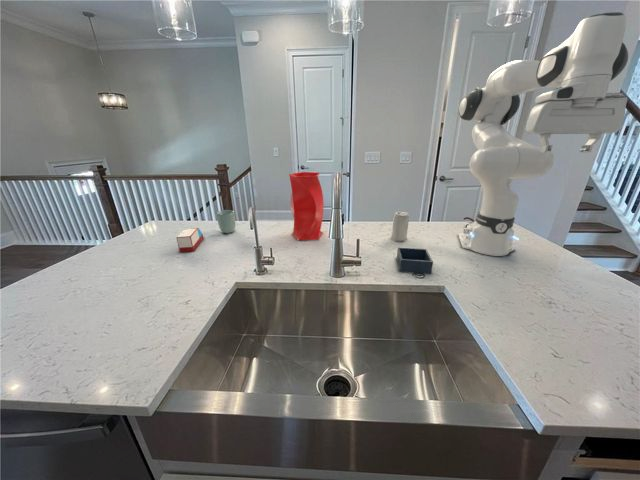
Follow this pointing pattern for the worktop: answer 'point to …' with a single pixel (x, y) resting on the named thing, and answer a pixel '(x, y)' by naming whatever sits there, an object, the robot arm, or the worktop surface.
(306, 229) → the vase
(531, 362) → the worktop surface
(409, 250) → the tote
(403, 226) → the beverage can
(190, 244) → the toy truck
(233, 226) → the cup
